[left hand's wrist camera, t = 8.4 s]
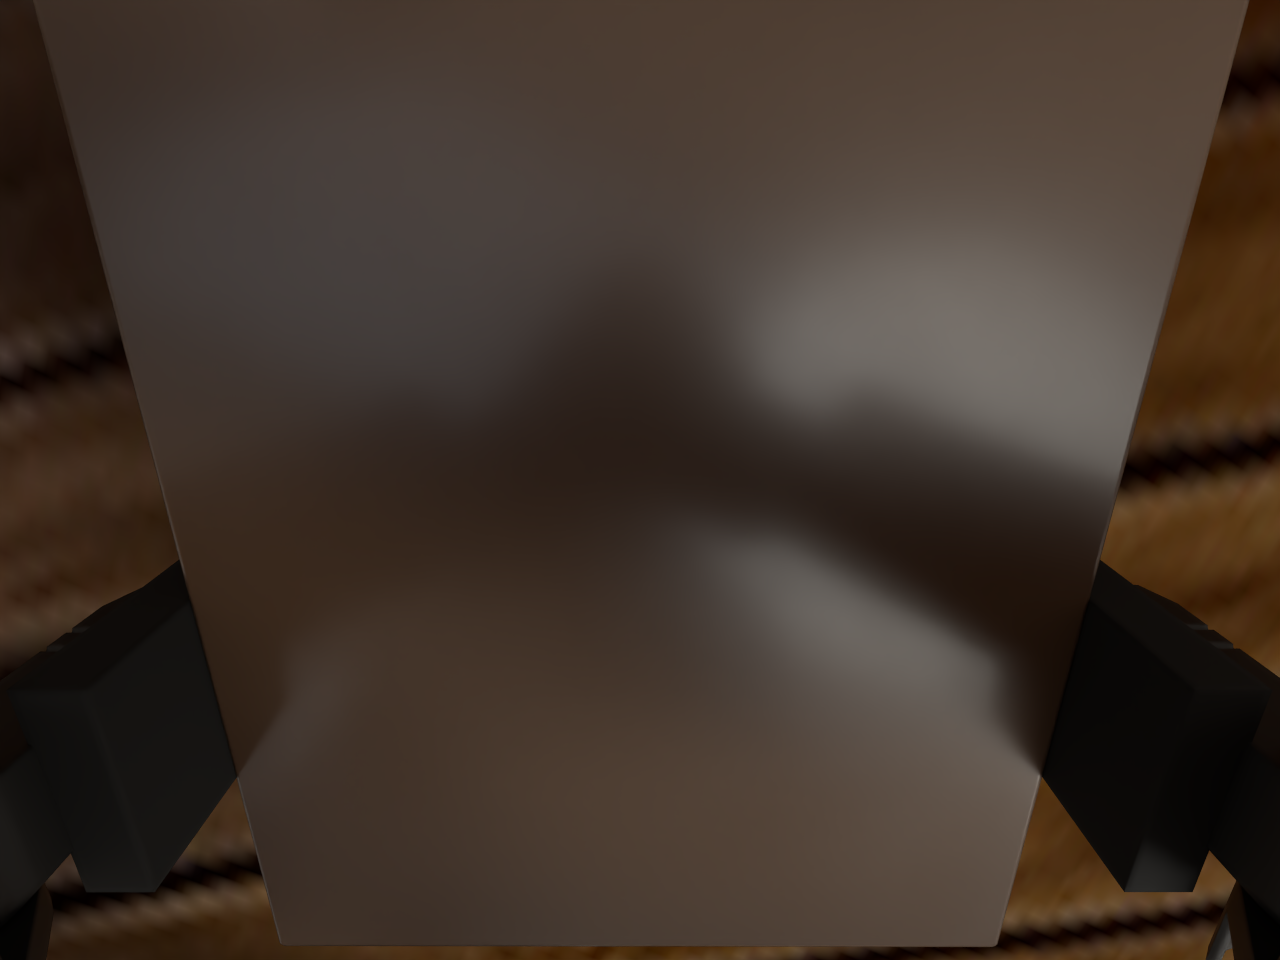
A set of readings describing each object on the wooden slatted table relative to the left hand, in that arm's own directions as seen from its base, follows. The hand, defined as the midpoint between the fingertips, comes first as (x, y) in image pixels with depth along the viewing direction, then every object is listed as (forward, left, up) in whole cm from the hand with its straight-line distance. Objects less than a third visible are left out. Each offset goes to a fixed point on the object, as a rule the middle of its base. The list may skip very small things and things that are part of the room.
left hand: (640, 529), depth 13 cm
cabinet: (+1, +4, -5) cm, 6 cm away
